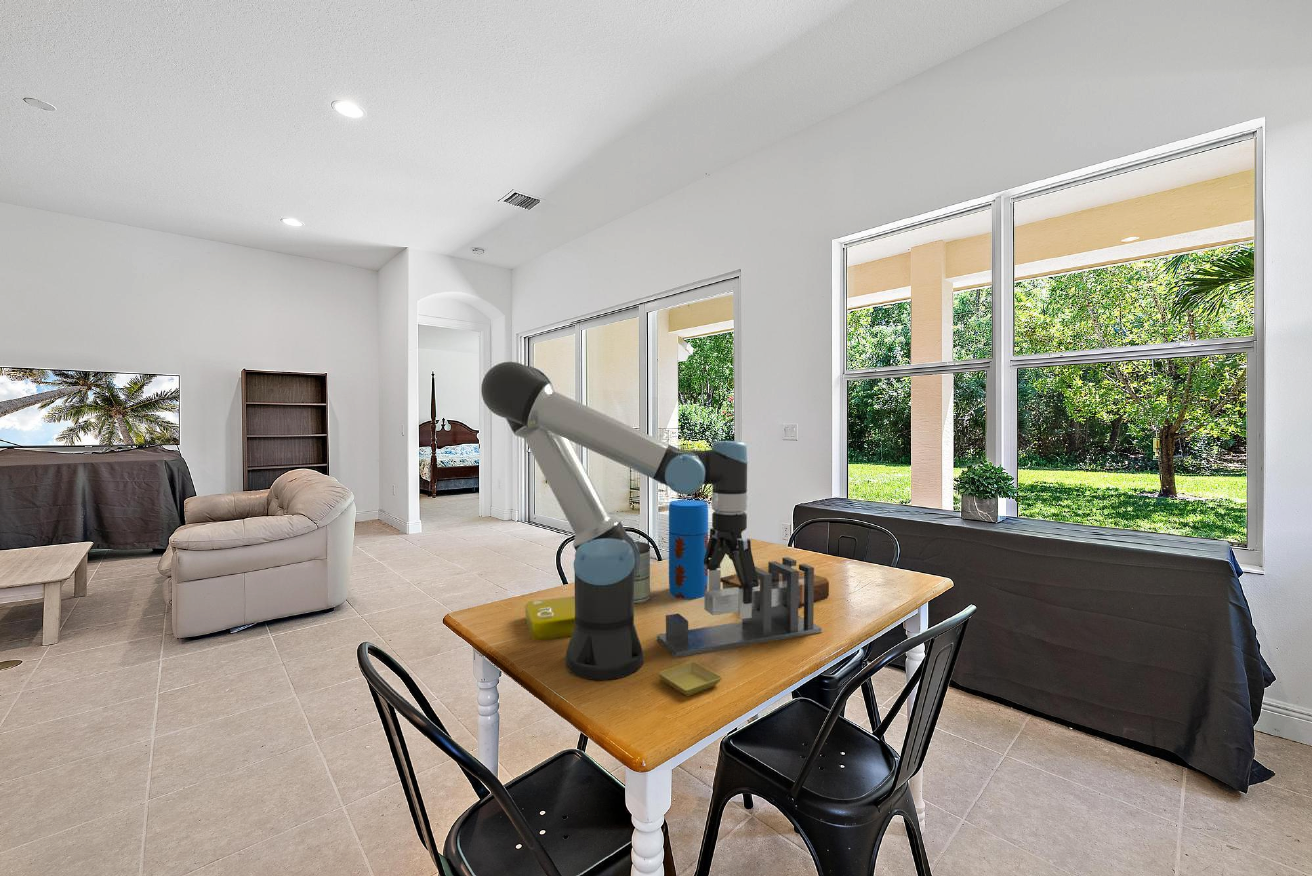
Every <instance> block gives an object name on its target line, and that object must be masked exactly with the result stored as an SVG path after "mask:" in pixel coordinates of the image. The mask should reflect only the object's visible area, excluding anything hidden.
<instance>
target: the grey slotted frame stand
mask: <svg viewBox="0 0 1312 876" xmlns="http://www.w3.org/2000/svg"><path fill="white" fill-rule="evenodd" d="M781 561H782V563H781V562H778V561H776V560H774V561H768V563H767V564H768V565H767V566H768V572H766V571H764V570H762V569H760V568H761V567H757V566H755V569H756V574H757V578H758V579H759V580H760V609H753V610H752V613H751V618H745V619H741V621H738V622H737V621H736V622H731V623H725V624H718V625H711V626H705V627H700V628H693V629H692V628H690V629H689V621H688V620H687V619H686V617H684V616H683V615H681V614H680V613H673V614H666V615H665V633H659V634H657V635H656V637H657V638H656V639H657V641H659V643H660V644H662V646H664V648H665V649H666V650H668V651H669V653H670V654H671V655H672V656H673V657H674V658H681V657H686V656H691V655H697V654H703V653H710V652H714V651H715V652H717V651H722V650H728V649H733V648H738V647H744V646H751V645H757V644H761V643H766V642H767V643H768V642H773V641H780V640H785V639H792V638H797V637H802V636H807V635H814V634H821V633H822V631H823V630H822V627H821V626H819V625H817V624H815V623H814V607H815V605H814V603H815V601H814V575H815V567H814V566H811V565H809V564H806V563H800V564H798V570H797V569H795V568H793V567H796V566H797V560H796V559H793V558H791V557H788V556H786V557H785V556H784V557H782V560H781ZM799 571H802V572H804V605H803V617H802V616H800V615H799V607H798V586H799ZM779 573H780V574H782V582H783V581H787V605H781V606H774V607H771V605H772V583H775V582H779ZM744 581H745V580H744Z"/></svg>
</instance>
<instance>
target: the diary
mask: <svg viewBox="0 0 1312 876" xmlns="http://www.w3.org/2000/svg"><path fill="white" fill-rule="evenodd" d="M759 568H760V569H762V570H764V571H766V572H768V565H767V566H762V567H759ZM798 571H799V579H804V572H803V571H801V570H798ZM758 582H759V584H760V580H759V579H758ZM779 582H782V574H780V573H779ZM721 584H722V589H728V588H735V587H739V586H740V582H739V579H738V576H737V573H735V574H731V575H727V576H723V577H721ZM829 595H830V581H829V580H828V579H827V577H824V576H820V575H816V574H814V602H817V601H820V600H823V599H826V598H828V597H829ZM802 606H803V607H804V603H798V608H799V607H802Z"/></svg>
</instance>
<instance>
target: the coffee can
mask: <svg viewBox="0 0 1312 876" xmlns="http://www.w3.org/2000/svg"><path fill="white" fill-rule="evenodd" d="M635 543H636V545H637V547H638V549H639V555H640V565H639V568H638V571H637V574H636V577H635V581H634V604H639V603H644V602H646V601H648V600H649V599H651V563H650V562H651V557H650V556H651V545H650V544H649V543H647V542H643V541H635Z"/></svg>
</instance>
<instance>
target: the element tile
mask: <svg viewBox="0 0 1312 876" xmlns="http://www.w3.org/2000/svg"><path fill="white" fill-rule="evenodd" d="M526 622H527V623H526ZM525 623H526V625H527V628H528V630H529V631H528V632H529V634H530V637H531V639H533V640H536V639H540V640H541V639H543V640H550V639H557V638H564V637H571V636H572V633H573V629H574V626H575V596H569V597H562V598H561V597H560V598H559V597H558V598H551V599H541V600H534V601H533V600H532V601H528V602H527V603H526V604H525ZM540 640H539V641H540Z"/></svg>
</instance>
